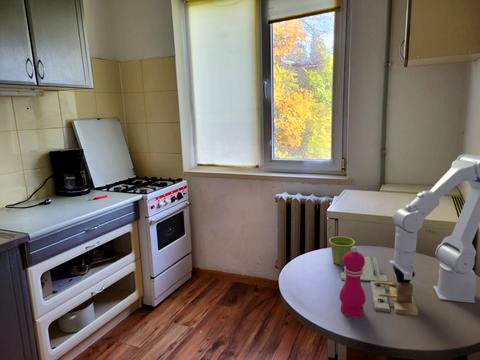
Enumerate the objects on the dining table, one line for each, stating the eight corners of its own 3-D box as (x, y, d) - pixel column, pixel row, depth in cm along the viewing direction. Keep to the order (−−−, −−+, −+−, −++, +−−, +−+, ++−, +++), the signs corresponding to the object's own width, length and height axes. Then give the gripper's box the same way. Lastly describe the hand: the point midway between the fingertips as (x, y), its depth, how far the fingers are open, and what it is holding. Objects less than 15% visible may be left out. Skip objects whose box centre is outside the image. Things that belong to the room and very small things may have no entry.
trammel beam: (407, 287, 114) (407, 282, 114) (418, 315, 99) (418, 308, 99) (374, 284, 117) (375, 278, 116) (380, 310, 102) (380, 304, 101)
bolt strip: (382, 285, 116) (383, 282, 116) (389, 311, 101) (389, 308, 101) (370, 284, 117) (370, 281, 117) (374, 310, 102) (375, 306, 102)
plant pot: (358, 265, 131) (359, 243, 129) (335, 268, 129) (336, 246, 127) (346, 255, 140) (346, 235, 138) (324, 258, 138) (324, 237, 136)
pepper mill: (365, 319, 98) (368, 252, 94) (339, 316, 100) (340, 250, 96) (364, 306, 104) (366, 243, 100) (339, 303, 106) (340, 241, 102)
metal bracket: (339, 250, 131) (381, 252, 128) (338, 262, 134) (380, 264, 131) (341, 277, 119) (388, 280, 115) (341, 289, 121) (386, 293, 118)
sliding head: (410, 298, 105) (411, 283, 104) (411, 302, 103) (412, 287, 102) (378, 295, 107) (379, 280, 106) (379, 299, 105) (379, 283, 104)
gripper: (387, 239, 112) (385, 278, 115) (394, 257, 98) (391, 301, 101) (411, 240, 110) (408, 280, 113) (421, 259, 96) (418, 304, 99)
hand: (402, 290), depth 107 cm, fingers closed
